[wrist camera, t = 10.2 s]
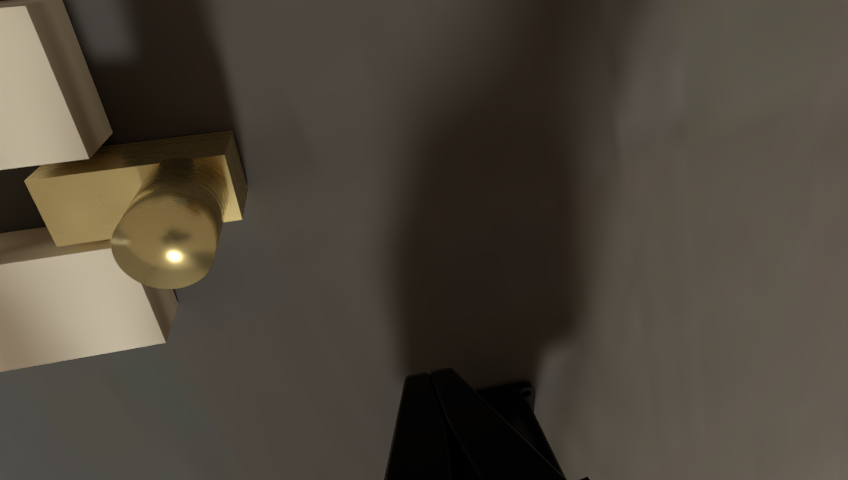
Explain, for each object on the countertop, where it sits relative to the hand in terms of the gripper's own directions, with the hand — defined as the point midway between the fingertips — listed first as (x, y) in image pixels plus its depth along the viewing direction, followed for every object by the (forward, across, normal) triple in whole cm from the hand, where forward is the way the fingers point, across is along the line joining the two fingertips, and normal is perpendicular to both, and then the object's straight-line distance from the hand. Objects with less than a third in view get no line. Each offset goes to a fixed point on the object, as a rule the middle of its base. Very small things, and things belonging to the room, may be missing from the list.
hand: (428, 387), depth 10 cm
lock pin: (+13, +8, 0) cm, 15 cm away
